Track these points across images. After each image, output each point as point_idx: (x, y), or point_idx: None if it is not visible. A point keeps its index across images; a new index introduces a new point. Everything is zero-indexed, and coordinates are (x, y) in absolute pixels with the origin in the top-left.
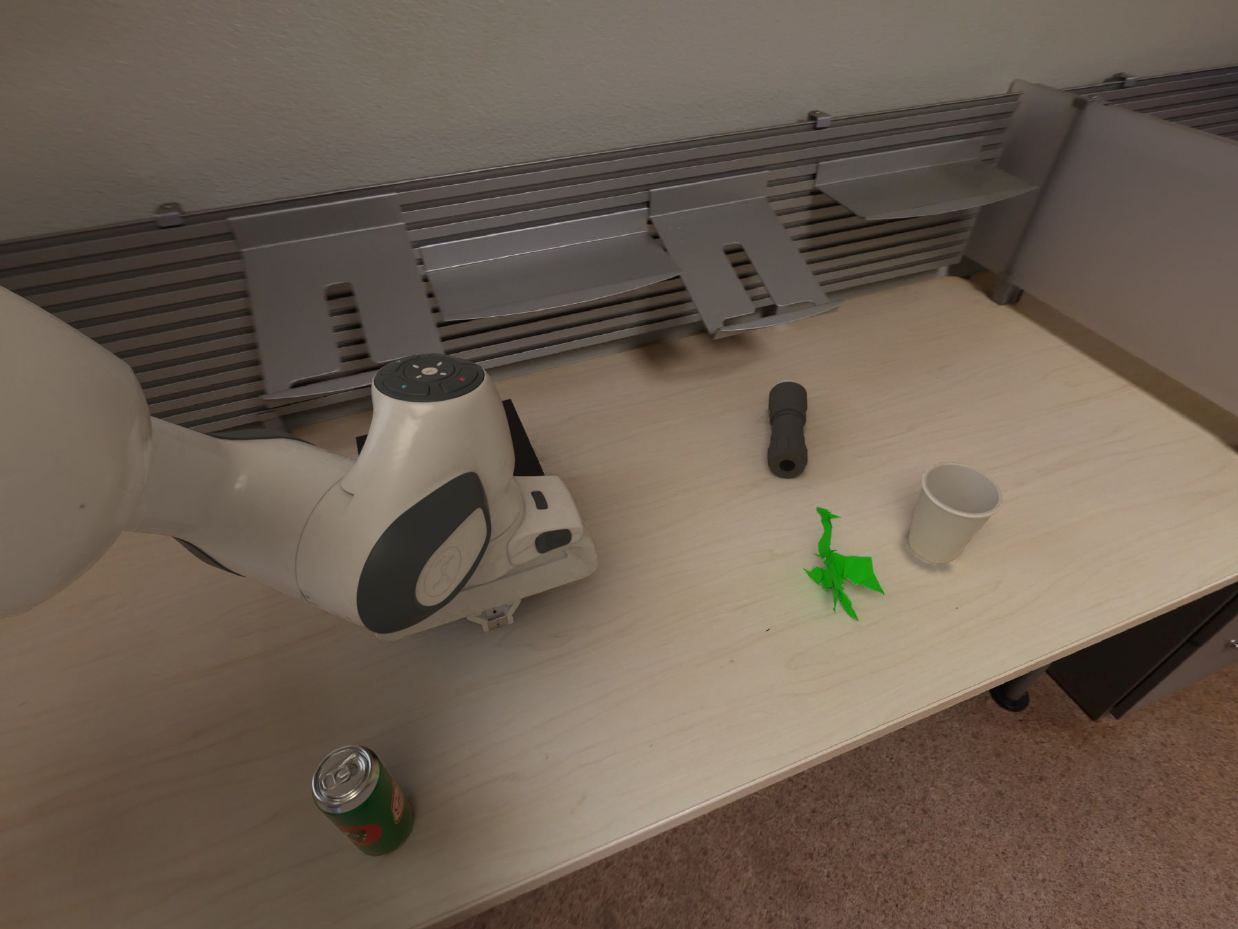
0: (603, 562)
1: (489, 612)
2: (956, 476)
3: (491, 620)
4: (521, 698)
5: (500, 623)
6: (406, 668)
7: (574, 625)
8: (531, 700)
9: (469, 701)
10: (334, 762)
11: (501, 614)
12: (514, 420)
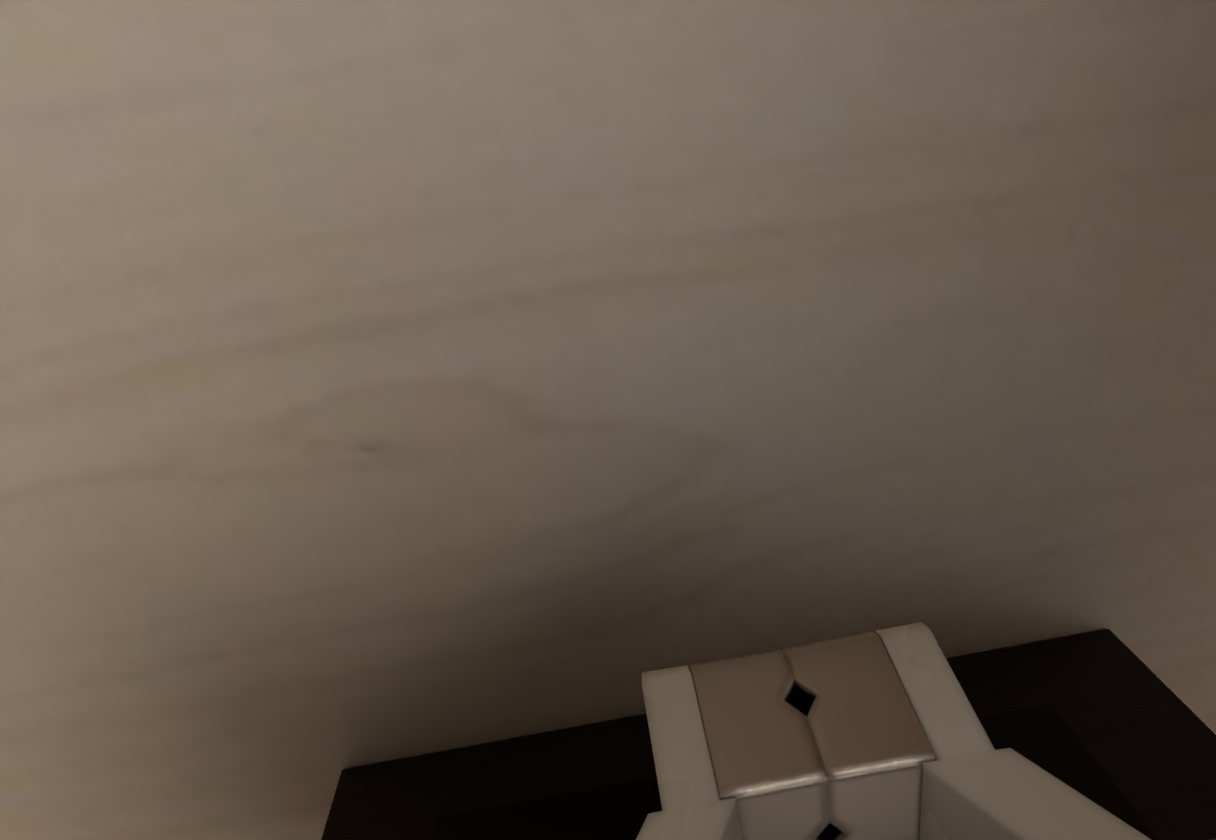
0: (109, 778)
1: (881, 836)
2: None
3: (884, 772)
4: (620, 96)
5: (778, 704)
6: (1197, 399)
7: (262, 494)
8: (556, 67)
9: (938, 144)
10: None
11: (769, 815)
12: None
